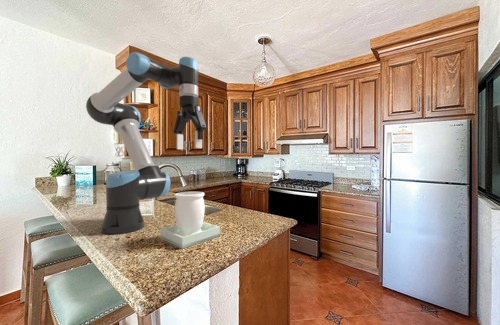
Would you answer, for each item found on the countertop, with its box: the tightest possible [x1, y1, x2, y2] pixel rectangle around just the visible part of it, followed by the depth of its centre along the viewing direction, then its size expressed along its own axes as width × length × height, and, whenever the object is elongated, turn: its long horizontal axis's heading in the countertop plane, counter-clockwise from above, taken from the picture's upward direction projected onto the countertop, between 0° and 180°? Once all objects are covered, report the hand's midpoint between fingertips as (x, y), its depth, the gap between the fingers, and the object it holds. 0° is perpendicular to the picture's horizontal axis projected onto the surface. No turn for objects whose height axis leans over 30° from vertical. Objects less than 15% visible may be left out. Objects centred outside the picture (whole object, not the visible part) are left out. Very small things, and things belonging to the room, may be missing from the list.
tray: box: [159, 221, 221, 250], centre depth 79 cm, size 14×15×4 cm
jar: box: [174, 190, 206, 237], centre depth 79 cm, size 11×10×15 cm
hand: (188, 148), depth 90 cm, fingers open, 13 cm apart
